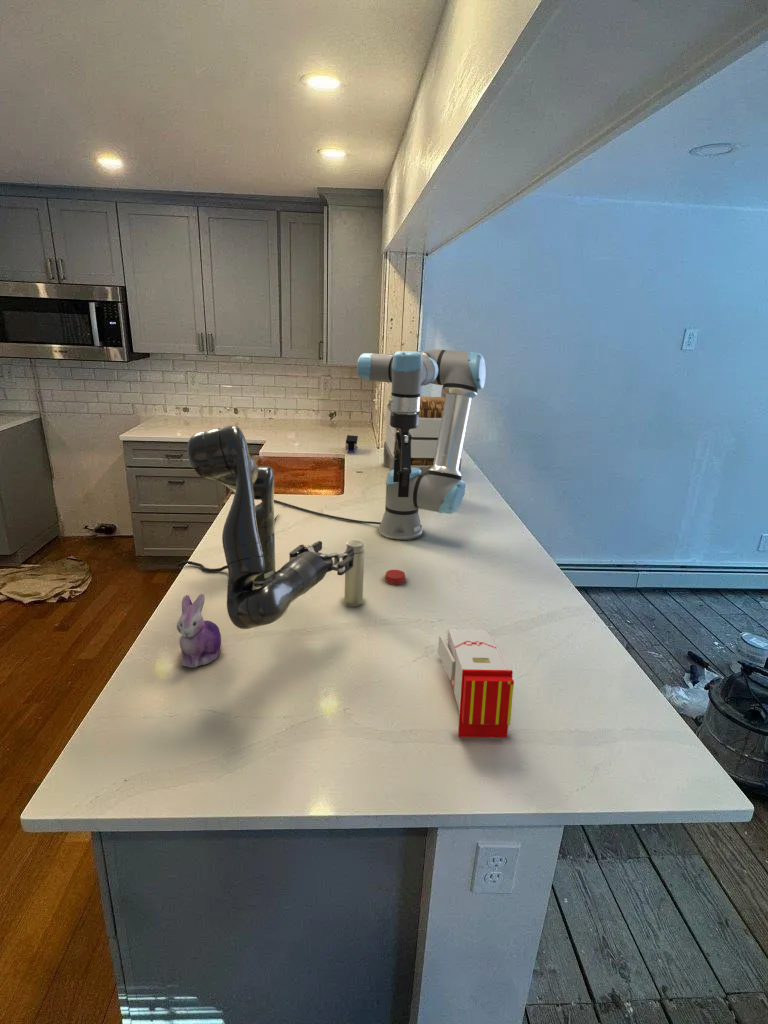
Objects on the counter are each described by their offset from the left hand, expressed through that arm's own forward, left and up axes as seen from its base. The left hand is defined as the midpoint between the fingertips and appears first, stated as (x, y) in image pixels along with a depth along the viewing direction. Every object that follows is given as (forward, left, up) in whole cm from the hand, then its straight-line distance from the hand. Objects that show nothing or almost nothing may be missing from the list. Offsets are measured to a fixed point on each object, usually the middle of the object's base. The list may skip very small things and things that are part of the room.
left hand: (336, 548), depth 137 cm
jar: (0, +10, -20) cm, 22 cm away
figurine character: (-76, +161, -20) cm, 179 cm away
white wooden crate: (-28, +140, -20) cm, 144 cm away
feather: (-53, +53, -20) cm, 77 cm away
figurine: (-19, -28, -20) cm, 39 cm away
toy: (+39, -12, -20) cm, 45 cm away
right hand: (+5, +28, +8) cm, 30 cm away
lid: (+5, +28, -18) cm, 33 cm away
